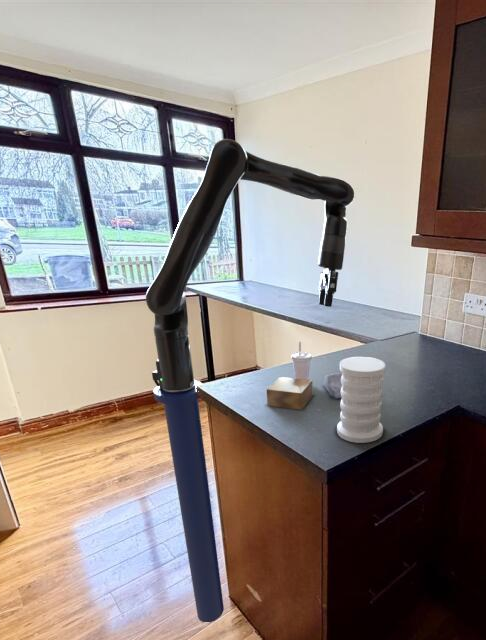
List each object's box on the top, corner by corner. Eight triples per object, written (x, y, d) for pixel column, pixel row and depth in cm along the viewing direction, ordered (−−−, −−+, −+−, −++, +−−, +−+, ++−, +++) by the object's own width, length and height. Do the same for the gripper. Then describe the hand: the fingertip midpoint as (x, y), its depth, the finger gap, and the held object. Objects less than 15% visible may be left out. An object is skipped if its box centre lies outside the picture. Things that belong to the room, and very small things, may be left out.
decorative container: (327, 428, 102) (328, 361, 96) (363, 416, 109) (365, 353, 103) (356, 448, 94) (358, 375, 88) (392, 433, 101) (397, 366, 95)
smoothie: (287, 384, 129) (286, 341, 123) (302, 378, 133) (301, 337, 128) (301, 389, 125) (300, 345, 120) (316, 383, 130) (316, 341, 125)
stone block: (350, 387, 133) (320, 384, 128) (353, 374, 131) (324, 370, 127) (361, 403, 122) (330, 400, 118) (365, 389, 121) (334, 386, 117)
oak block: (267, 405, 113) (266, 389, 111) (280, 392, 122) (280, 376, 121) (301, 409, 112) (301, 393, 110) (312, 395, 121) (312, 380, 119)
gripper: (315, 251, 129) (308, 302, 132) (325, 248, 116) (317, 305, 119) (338, 256, 131) (331, 306, 135) (350, 253, 118) (341, 308, 121)
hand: (324, 305), depth 127 cm, fingers open, 8 cm apart
